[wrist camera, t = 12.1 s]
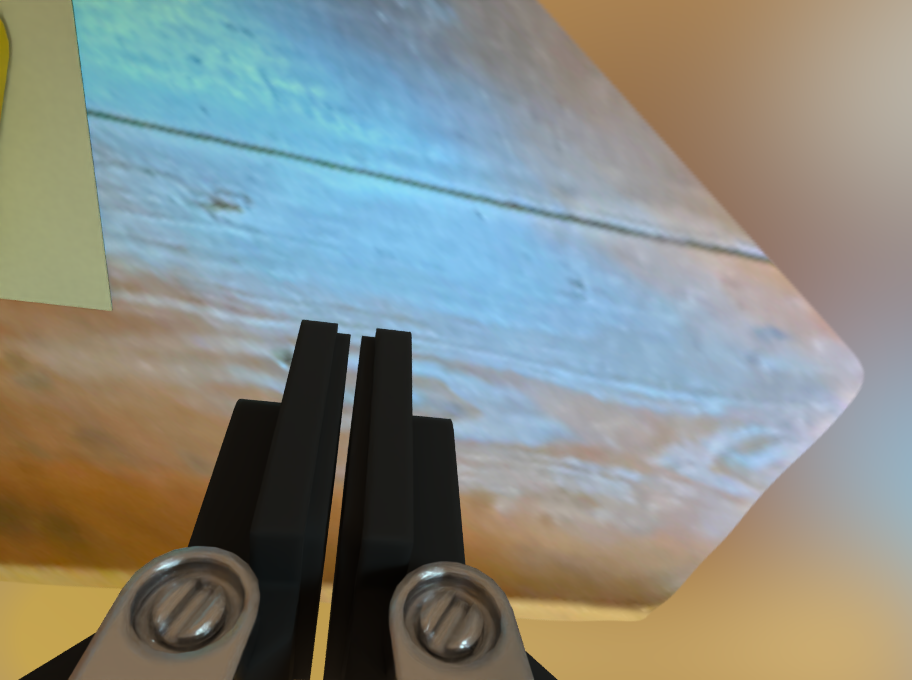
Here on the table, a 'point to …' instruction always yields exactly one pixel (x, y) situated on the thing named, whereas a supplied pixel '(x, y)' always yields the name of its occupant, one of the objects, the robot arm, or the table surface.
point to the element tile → (3, 61)
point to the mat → (47, 165)
